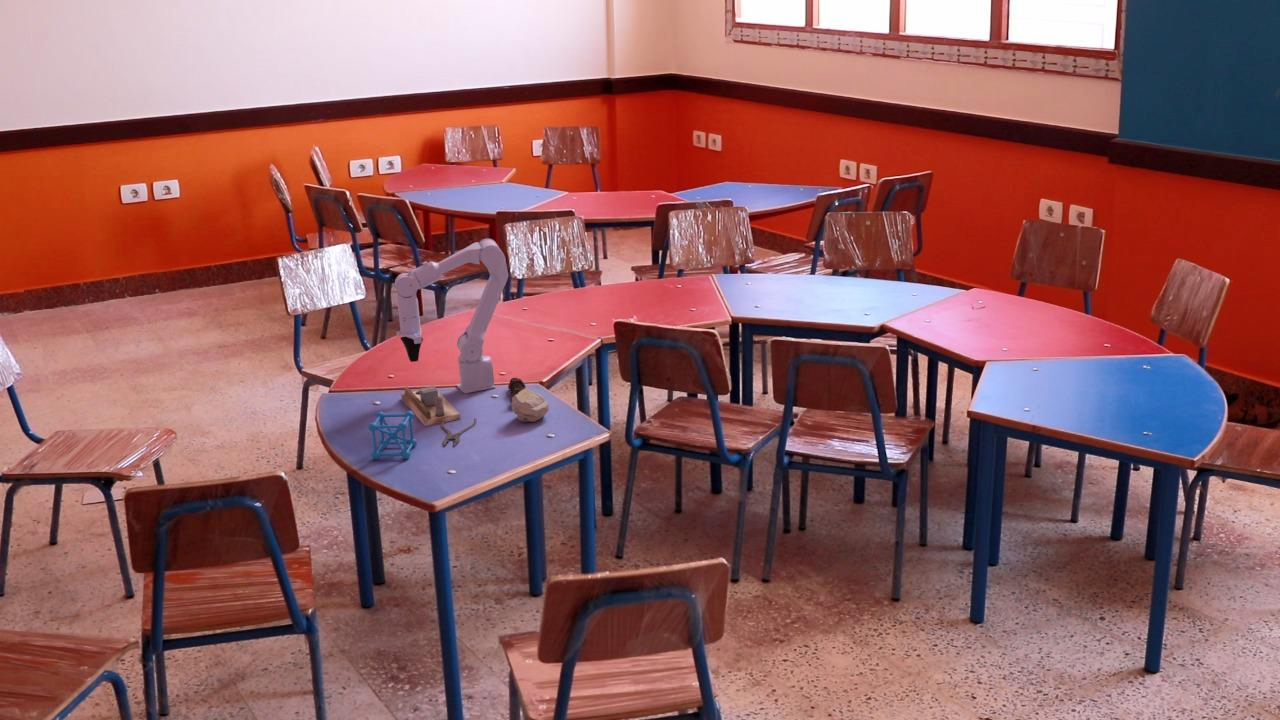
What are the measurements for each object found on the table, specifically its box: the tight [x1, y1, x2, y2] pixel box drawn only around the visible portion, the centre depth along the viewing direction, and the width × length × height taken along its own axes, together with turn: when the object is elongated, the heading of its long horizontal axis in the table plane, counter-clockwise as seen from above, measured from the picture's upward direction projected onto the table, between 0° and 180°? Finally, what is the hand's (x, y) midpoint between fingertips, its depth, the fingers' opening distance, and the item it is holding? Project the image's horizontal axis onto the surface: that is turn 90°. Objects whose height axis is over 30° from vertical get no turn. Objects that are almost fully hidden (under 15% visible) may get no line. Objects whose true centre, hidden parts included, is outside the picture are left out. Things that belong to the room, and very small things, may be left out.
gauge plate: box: [400, 386, 461, 427], centre depth 344 cm, size 10×24×6 cm, turn 25°
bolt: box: [507, 377, 527, 401], centre depth 351 cm, size 6×5×15 cm
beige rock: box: [511, 388, 550, 423], centre depth 334 cm, size 12×8×10 cm
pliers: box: [440, 417, 478, 448], centre depth 328 cm, size 10×1×20 cm
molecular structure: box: [367, 410, 418, 461], centre depth 315 cm, size 10×10×10 cm
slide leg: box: [419, 385, 439, 406], centre depth 344 cm, size 4×4×4 cm
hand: (414, 360), depth 353 cm, fingers closed
